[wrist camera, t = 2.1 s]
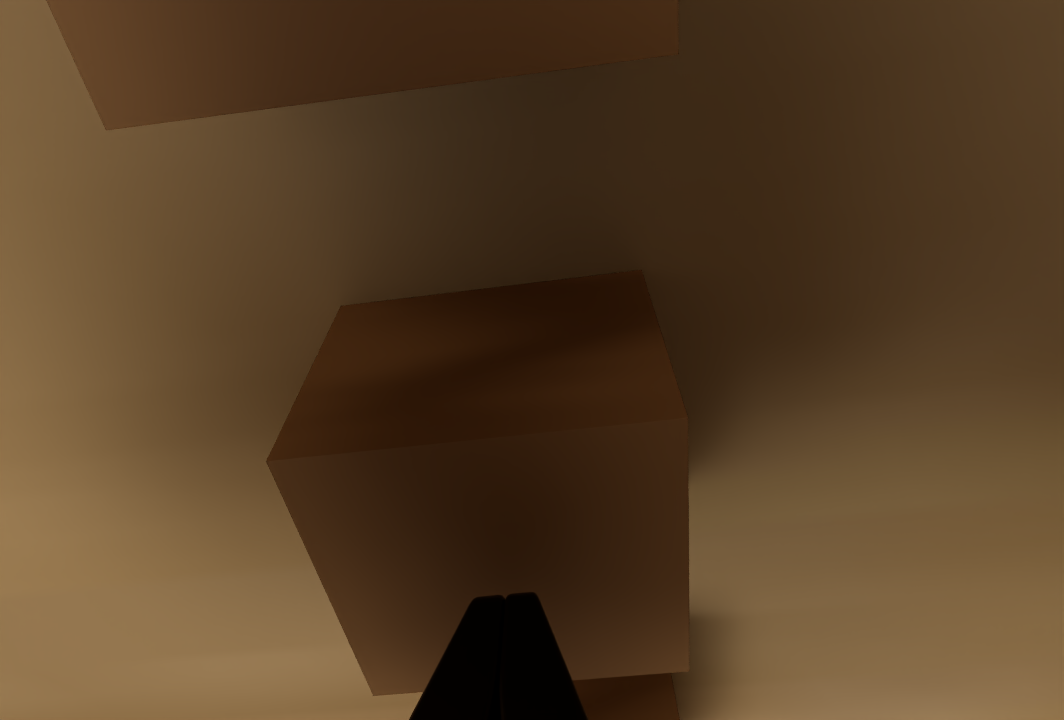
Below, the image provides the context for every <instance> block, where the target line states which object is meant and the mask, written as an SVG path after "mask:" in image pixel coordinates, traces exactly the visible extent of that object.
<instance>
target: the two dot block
mask: <svg viewBox="0 0 1064 720" xmlns="http://www.w3.org/2000/svg"><path fill="white" fill-rule="evenodd" d="M46 1H47V3H48V5H49V7H50V9H51V11H52V14H53V16H54V18H55V20H56V22H57V24H58V27H59V29H60V31H61V33H62V35H63V38H64V40H65V42H66V44H67V46H68V48H69V51H70V53H71V55H72V57H73V59H74V62H75V64H76V66H77V68H78V70H79V72H80V75H81V77H82V79H83V81H84V83H85V85H86V88H87V90H88V92H89V94H90V96H91V99H92V101H93V103H94V105H95V107H96V109H97V112H98V114H99V116H100V118H101V120H102V123H103V125H104V127H105V129H106V130H112V129H120V128H127V127H135V126H142V125H150V124H157V123H165V122H172V121H180V120H187V119H195V118H202V117H210V116H217V115H225V114H232V113H240V112H248V111H255V110H263V109H270V108H278V107H285V106H293V105H300V104H308V103H315V102H323V101H330V100H338V99H345V98H353V97H360V96H368V95H376V94H383V93H391V92H398V91H406V90H413V89H421V88H428V87H436V86H443V85H451V84H458V83H466V82H473V81H481V80H488V79H496V78H504V77H511V76H519V75H526V74H534V73H541V72H549V71H556V70H564V69H571V68H579V67H586V66H594V65H601V64H609V63H616V62H624V61H632V60H639V59H647V58H654V57H662V56H669V55H677V54H679V49H678V0H46Z"/></svg>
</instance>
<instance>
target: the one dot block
mask: <svg viewBox="0 0 1064 720" xmlns="http://www.w3.org/2000/svg"><path fill="white" fill-rule="evenodd" d="M573 683H574V685H575V688H576V690H577V692H578V695H579V697H580V700H581V702H582V705H583V707H584V710H585V712H586V714H587V717H588V719H589V720H679V714H678V709H677V704H676V698H675V693H674V687H673V682H672V677H671V673H661V674H648V675H635V676H622V677H609V678H596V679H584V680H573Z"/></svg>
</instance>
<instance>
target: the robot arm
mask: <svg viewBox="0 0 1064 720" xmlns="http://www.w3.org/2000/svg"><path fill="white" fill-rule="evenodd" d="M409 720H589V719H588V717H587V714H586V712H585V710H584V707H583V705H582V702H581V700H580V697H579V695H578V692H577V690H576V688H575V685H574V683H573V680H572V678H571V675H570V673H569V670H568V668H567V666H566V663H565V661H564V658H563V656H562V653H561V651H560V648H559V646H558V644H557V641H556V639H555V636H554V634H553V631H552V629H551V626H550V624H549V622H548V619H547V617H546V614H545V612H544V609H543V607H542V604H541V602H540V600H539V597H538V595H537V594H536V593H534V592H524V593H513V594H509V595H507V596H506V598H504V596H502V595H491V596H481V597H476V598H474V599H473V600H472V601H471V602H470V604H469V606H468V608H467V610H466V612H465V613H464V615H463V617H462V619H461V621H460V623H459V625H458V627H457V629H456V631H455V633H454V634H453V636H452V638H451V640H450V642H449V644H448V646H447V648H446V650H445V652H444V654H443V656H442V657H441V659H440V661H439V663H438V665H437V667H436V669H435V671H434V673H433V675H432V677H431V678H430V680H429V682H428V684H427V686H426V688H425V690H424V692H423V694H422V696H421V698H420V700H419V701H418V703H417V705H416V707H415V709H414V711H413V713H412V715H411V717H410V719H409Z"/></svg>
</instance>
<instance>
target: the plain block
mask: <svg viewBox="0 0 1064 720" xmlns="http://www.w3.org/2000/svg"><path fill="white" fill-rule="evenodd" d="M266 462H267V464H268V466H269V469H270V471H271V473H272V475H273V477H274V480H275V482H276V484H277V486H278V488H279V490H280V493H281V495H282V497H283V499H284V501H285V504H286V506H287V508H288V510H289V512H290V514H291V517H292V519H293V521H294V523H295V525H296V528H297V530H298V532H299V534H300V536H301V539H302V541H303V543H304V545H305V547H306V549H307V552H308V554H309V556H310V558H311V560H312V563H313V565H314V567H315V569H316V571H317V574H318V576H319V578H320V580H321V582H322V584H323V587H324V589H325V591H326V593H327V595H328V598H329V600H330V602H331V604H332V606H333V608H334V611H335V613H336V615H337V617H338V619H339V622H340V624H341V626H342V628H343V630H344V633H345V635H346V637H347V639H348V641H349V643H350V646H351V648H352V650H353V652H354V654H355V657H356V659H357V661H358V663H359V665H360V668H361V670H362V672H363V674H364V676H365V678H366V681H367V683H368V685H369V687H370V689H371V692H372V694H373V696H378V695H391V694H404V693H416V692H424V690H425V688H426V686H427V684H428V682H429V680H430V678H431V677H432V675H433V673H434V671H435V669H436V667H437V665H438V663H439V661H440V659H441V657H442V656H443V654H444V652H445V650H446V648H447V646H448V644H449V642H450V640H451V638H452V636H453V634H454V633H455V631H456V629H457V627H458V625H459V623H460V621H461V619H462V617H463V615H464V613H465V612H466V610H467V608H468V606H469V604H470V602H471V601H472V600H473V599H474V598H476V597H481V596H491V595H502V596H504V598H506V596H507V595H509V594H513V593H524V592H534V593H536V594H537V595H538V597H539V600H540V602H541V604H542V607H543V609H544V612H545V614H546V617H547V619H548V622H549V624H550V626H551V629H552V631H553V634H554V636H555V639H556V641H557V644H558V646H559V648H560V651H561V653H562V656H563V658H564V661H565V663H566V666H567V668H568V670H569V673H570V675H571V678H572V680H584V679H596V678H609V677H622V676H635V675H648V674H661V673H674V672H686V671H689V497H688V416H687V413H686V410H685V406H684V403H683V400H682V397H681V394H680V391H679V387H678V384H677V381H676V378H675V375H674V371H673V368H672V365H671V362H670V359H669V356H668V352H667V349H666V346H665V343H664V340H663V337H662V333H661V330H660V327H659V324H658V321H657V318H656V314H655V311H654V308H653V305H652V302H651V299H650V295H649V292H648V289H647V286H646V283H645V279H644V276H643V273H642V270H636V271H627V272H619V273H611V274H603V275H594V276H586V277H578V278H569V279H561V280H553V281H544V282H536V283H528V284H519V285H511V286H503V287H494V288H486V289H478V290H469V291H461V292H453V293H444V294H436V295H428V296H420V297H411V298H403V299H395V300H386V301H378V302H370V303H361V304H353V305H345V306H341V307H340V309H339V311H338V313H337V315H336V317H335V319H334V322H333V324H332V326H331V328H330V330H329V332H328V334H327V336H326V338H325V340H324V342H323V344H322V346H321V348H320V351H319V353H318V355H317V357H316V359H315V361H314V363H313V365H312V367H311V369H310V371H309V373H308V375H307V378H306V380H305V382H304V384H303V386H302V388H301V390H300V392H299V394H298V396H297V398H296V400H295V402H294V404H293V407H292V409H291V411H290V413H289V415H288V417H287V419H286V421H285V423H284V425H283V427H282V429H281V431H280V434H279V436H278V438H277V440H276V442H275V444H274V446H273V448H272V450H271V452H270V454H269V456H268V458H267V461H266Z"/></svg>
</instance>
